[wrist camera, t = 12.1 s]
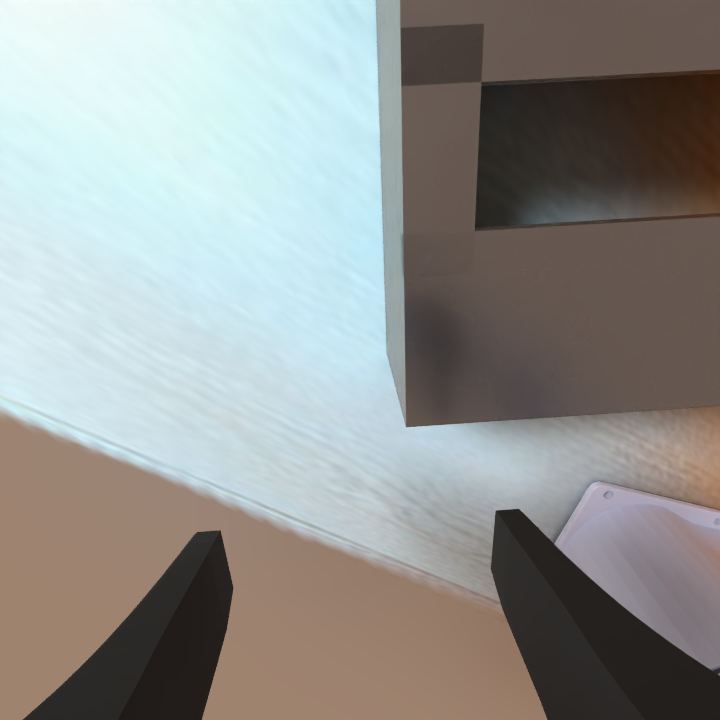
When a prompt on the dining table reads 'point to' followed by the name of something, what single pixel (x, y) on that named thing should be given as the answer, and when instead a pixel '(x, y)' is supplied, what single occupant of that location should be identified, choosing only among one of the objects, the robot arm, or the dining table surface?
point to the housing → (534, 241)
